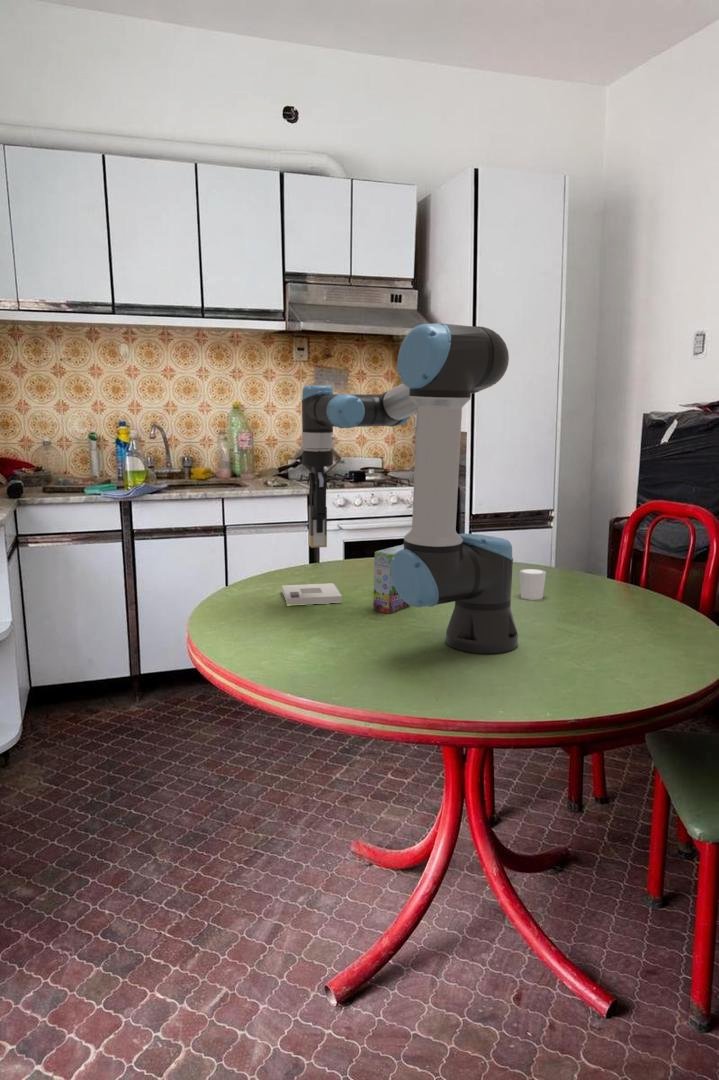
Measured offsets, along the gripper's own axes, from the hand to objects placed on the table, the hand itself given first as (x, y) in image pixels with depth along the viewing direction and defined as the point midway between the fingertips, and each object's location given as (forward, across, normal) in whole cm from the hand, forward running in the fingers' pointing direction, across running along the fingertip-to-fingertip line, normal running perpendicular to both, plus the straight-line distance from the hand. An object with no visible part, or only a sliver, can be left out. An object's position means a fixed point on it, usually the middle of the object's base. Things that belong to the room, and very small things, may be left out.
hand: (317, 543), depth 190 cm
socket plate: (+16, +6, +1) cm, 17 cm away
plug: (+1, 0, 0) cm, 1 cm away
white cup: (+15, -5, -56) cm, 58 cm away
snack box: (+16, -5, -22) cm, 27 cm away
